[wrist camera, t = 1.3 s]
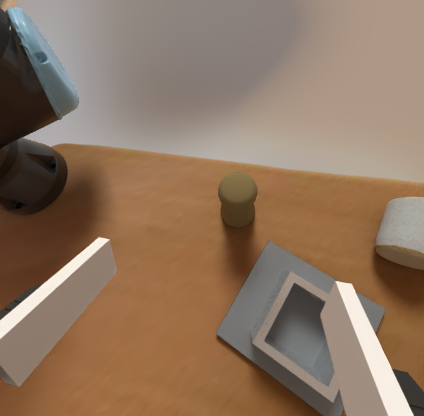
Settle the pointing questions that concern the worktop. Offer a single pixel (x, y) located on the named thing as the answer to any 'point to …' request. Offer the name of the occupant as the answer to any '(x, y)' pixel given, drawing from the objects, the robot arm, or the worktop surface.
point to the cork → (237, 199)
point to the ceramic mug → (403, 232)
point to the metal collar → (315, 377)
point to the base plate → (287, 322)
